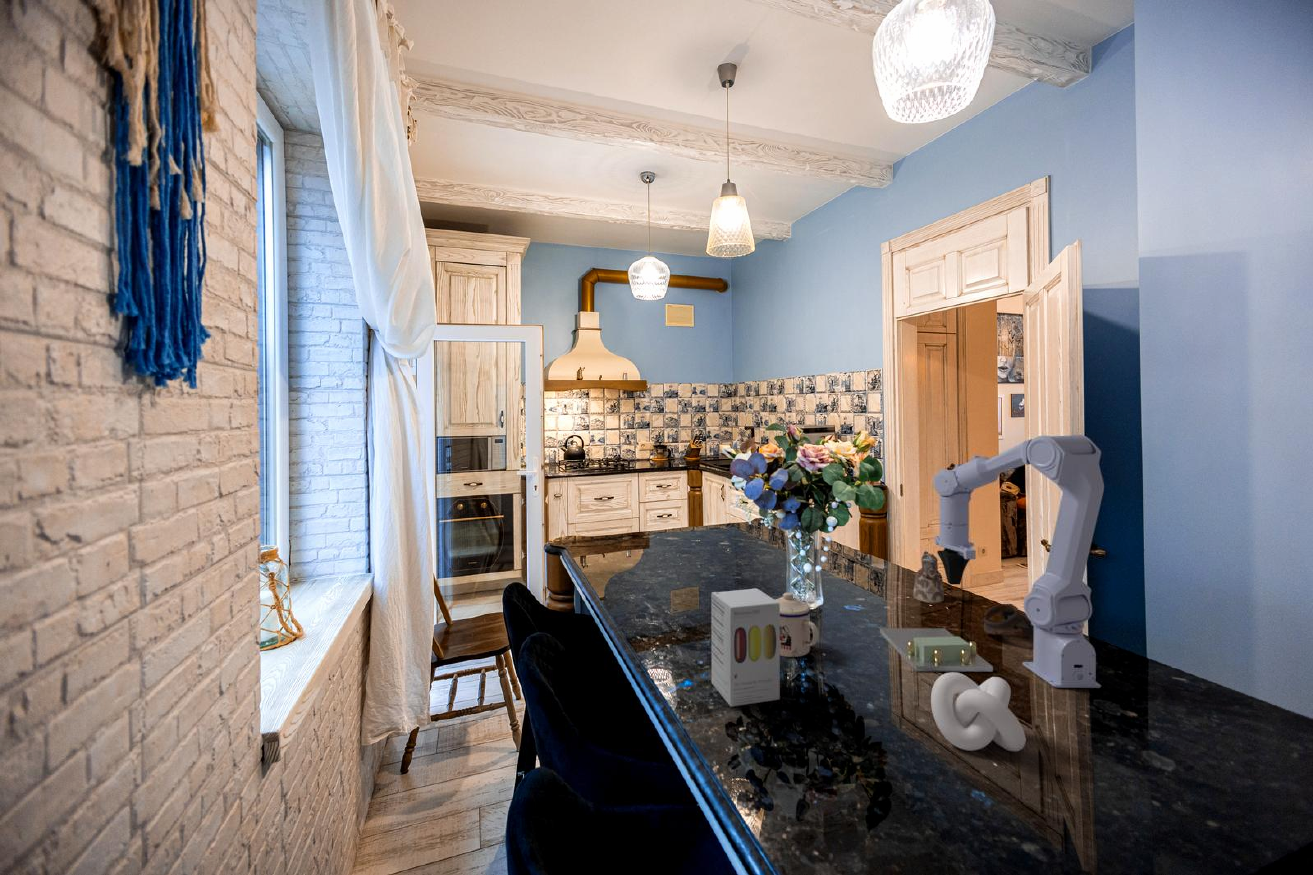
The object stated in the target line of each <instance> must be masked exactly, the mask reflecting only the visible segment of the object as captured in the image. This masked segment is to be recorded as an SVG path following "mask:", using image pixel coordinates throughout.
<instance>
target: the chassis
mask: <svg viewBox="0 0 1313 875" xmlns="http://www.w3.org/2000/svg"><path fill="white" fill-rule="evenodd" d="M879 633H880V634H881V635H882V637H883V638H884V639H885V640H886V641H887V642H888V643H889V644H890V645H891V646H892V648H894V649H895V651H897V652H898V654H899V655H900V656H901V657H902V658H903V659H904V660H905V661H906V662H907V663H908V665H910V666H911V667H912V669H914V671H915V672H941V673H942V672H945V673H951V672H955V673H960V672H961V673H962V672H965V673H966V672H967V673H968V672H969V673H971V672H972V673H974V672H975V673H977V672H979V673H982V672H983V673H985V672H986V673H988V672H989V673H991V672H992V673H993V671H994V666H993V665H992V664H991V663H989V662H988V661H987V660H985V659H984V658H983V657H982V656H980V655H979V654H977V642H976V641H969V642H968V643H969V644H970V660H969V651H968V650H966V649H962V650H961V660H951V661H941V650H939V649H935V650H934V661H923V660H922V659H921V658H920V657H919V656H917V655H916V654H915V642H914V638H919V637H956V636H955V635H954V634H953V633H951V632H950V631H948V630H947V629H946V628H942V627H941V628H928V627H925V628H923V627H922V628H920V627H919V628H917V627H916V628H909V627H908V628H907V627H906V628H905V627H904V628H903V627H902V628H899V627H898V628H892V627H891V628H888V627H886V628H885V627H884V628H882V627H881V628H879Z"/></svg>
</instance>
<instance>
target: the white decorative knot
mask: <svg viewBox="0 0 1313 875" xmlns="http://www.w3.org/2000/svg"><path fill="white" fill-rule="evenodd" d="M1011 693H1012V692H1011V687H1010V685H1009V683H1008V682H1007V680H1005V679H1003V678H1002V677H999V676H992V677H990V678H987V679H986V680H984V681H983V682H982V683H981V684H980V685H978V684H977V683H976V682H975V681H973V680H972V679H971V678H969V677H968V676H967V675H965V674H963V673H960V672H945V673H944V674H941V675H940V676H939V677H938V678H937V679H936V680H935V682H934V684H933V685H932V690H931V694H930V696H931V697H930V705H931V712H932V716H933V719H934V721H935V724H936V726H937V728H938V730H939V731H940V733H941V734H942V735H943V737H944V738H945V739H946V740H947V741H948V742H949V743H950V744H951V745H953V746H954V747H956V748H959V749H960V750H964V751H971V752H973V751H978V750H980V749H984V748H985V747H987V746H988V745H989V744H990V743H991V742H992V741H994V742H995V743H996V745H998V746H1000V747H1001V748H1003V749H1004V750H1006V751H1008V752H1019V751H1020V750H1022V749H1024V748H1025V744H1026V741H1027V739H1026V735H1025V734H1026V733H1025V731H1024V728H1023V727H1022V724H1021V723H1020V721H1019V719H1018V718H1017V716H1015V715H1014V713H1013V711H1012V710H1011V709H1009V707H1008V706H1009V702H1010V700H1011V695H1012V694H1011ZM957 694H958V696H957V698H956V699H955V701H954V698H955V695H957ZM953 701H954V703H953Z"/></svg>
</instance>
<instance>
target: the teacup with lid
mask: <svg viewBox="0 0 1313 875" xmlns="http://www.w3.org/2000/svg"><path fill="white" fill-rule="evenodd" d="M774 600H776V601H777V602H779V604H780V657H785V658H799V657H803V656H805V655H807V654H809V652H810V651H811V647H812V646H815V645H816V644H817V643H818V640H819V636H820V635H819V629H818V627H817V625H816V624H815V623H814V622H812V621H811V618H810V617H811V612H812V609H811V606H810V605H809V604H808V603H806V601H802V600H799V599H798V598H796V597H794V595H793V593H792V592H784V593H783V594H782V596H781V597H778V598H775V599H774ZM811 631H812V638H811Z"/></svg>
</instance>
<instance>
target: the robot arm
mask: <svg viewBox="0 0 1313 875" xmlns="http://www.w3.org/2000/svg"><path fill="white" fill-rule="evenodd" d="M1101 455H1102V451H1101V449H1100V448H1099V447H1098V446H1097V445H1096V444H1095V442H1093V441H1092V439H1090V438H1089V437H1088V436H1085V435H1083V434H1072V435H1055V436H1054V435H1051V436H1050V435H1038V436H1036V437H1034V438H1032V439H1027V440H1024V441H1023V442H1022V443H1019V444H1017V445H1015V446H1014V447H1011V448H1009V449H1008V450H1005V451H1003V452H1001V453H999V454H997V455H995V456H992V457H991V458H990V457H988V456H981V455H974V456H972V457H970V460H969V461H968V462H965V463H963V464H962V463H961V464H960V463H958V464H957V463H956V465H954V468H953V469H945V468H944V469H940V470H939V471H938V472H936V473H935V475H934V477H933V486H934V487H933V488H934V490H935V492H936V493H937V494H938V495H939V535H934V545H937V546H938V547H940V548H943V549H942V550H937V555H938V557H939V558H940V560H941V563H942V565H943V569H944V573H945V576H946V581H947V583H948V584H950V585H961V583H962V579H963V575H964V572H965V569H966V567H967V565H968V563H969V562H970V561H971V560H976V558H977V556H976V555H977V554H976V550H975V549H973V548H974V547H975V544H974V542H972V541H969V539H970V538H969V537H970V536H969V533H970V532H969V526H970V524H969V520H970V518H969V515H970V514H969V513H970V512H969V511H970V510H969V507H970V504H969V503H970V502H971V500H972V494H973V493H974V491H975V490H977V489H979V488H981V487H984V486H987V485H988V484H992V483H995V482H997V480H998V479H999V476H1000V474H1002V473H1005V472H1007V471H1010V470H1013V469H1016V468H1019V467H1022V466H1025V465H1031V466H1032V467H1033V468H1034V469H1036V470H1037V471H1038V472H1039V473H1041V474H1042V475H1044V476H1045V477H1046V478H1047V479H1049V480H1050V481H1051V482H1053V483H1054V484H1056V485H1057V487H1058V488H1059V489H1060V490H1061V491H1062V494H1061V499H1060V504H1059V508H1058V512H1057V516H1056V522H1055V527H1054V530H1053V535H1052V539H1051V544H1050V549H1049V553H1048V557H1047V561H1046V562H1047V563H1046V567H1045V570H1044V572H1043V574H1042V575H1041V576H1039V578H1037V580H1035V581H1034V582H1033V584H1032V588H1031V590H1030V592H1029V593H1028V594H1027V595H1026V596H1025V598H1024V600H1023V609H1024V613H1025V614H1026V615H1027V617H1028V618H1029V620H1030V621H1031V625H1034V637H1033V661H1022V666H1024V667H1026V668H1027V669H1028V670H1029V671H1031V672H1032V673H1033V674H1035V675H1036V676H1038V677H1039V678H1041V679H1042V680H1044V681H1045V682H1046V683H1047V684H1049V685H1050V686H1052V687H1053V688H1060V689H1061V688H1066V689H1067V688H1071V689H1073V688H1074V689H1075V688H1076V689H1077V688H1079V689H1080V688H1081V689H1082V688H1083V689H1084V688H1085V689H1094V688H1096V689H1100V688H1101V687H1102V685H1101V684H1100V683H1098V682H1097V681H1096V678H1097V676H1096V671H1097V670H1096V669H1097V668H1096V667H1097V660H1096V659H1097V657H1096V656H1097V654H1096V653H1097V652H1096V651H1095V648H1094V646H1093V645H1092V644H1091V643H1090V642H1089V641H1088V640H1087V639H1086V638H1085V636H1084V635H1083V629H1084V628H1085V622H1087V621H1088V620H1090V618H1091V616H1092V614H1093V604H1092V602H1091V593H1092V588H1091V587H1089V586H1088V584H1086V583H1085V582H1084V581H1083V579H1084V575H1085V570H1086V566H1087V563H1088V559H1089V553H1090V551H1091V550H1090V549H1091V547H1092V546H1091V545H1092V541H1093V537H1094V533H1095V529H1096V524H1097V521H1098V517H1099V512H1100V508H1101V505H1102V504H1101V503H1102V499H1103V495H1104V490H1105V484H1104V479H1103V476H1102V472H1101V467H1100V459H1101Z"/></svg>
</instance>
